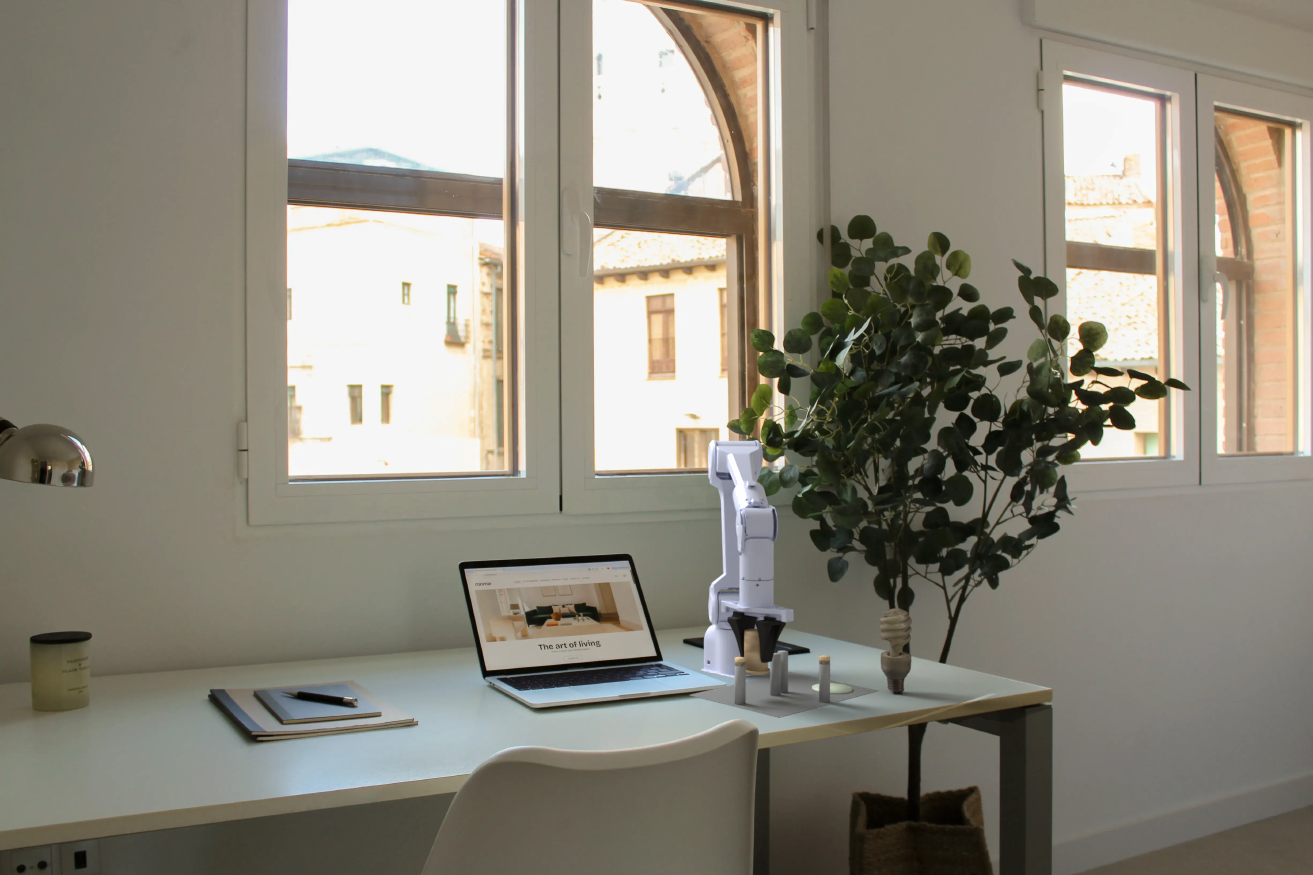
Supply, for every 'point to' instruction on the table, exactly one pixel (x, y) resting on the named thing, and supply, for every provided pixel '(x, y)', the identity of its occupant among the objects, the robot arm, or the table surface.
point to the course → (780, 689)
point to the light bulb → (896, 648)
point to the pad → (835, 688)
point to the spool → (753, 654)
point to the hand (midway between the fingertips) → (756, 659)
